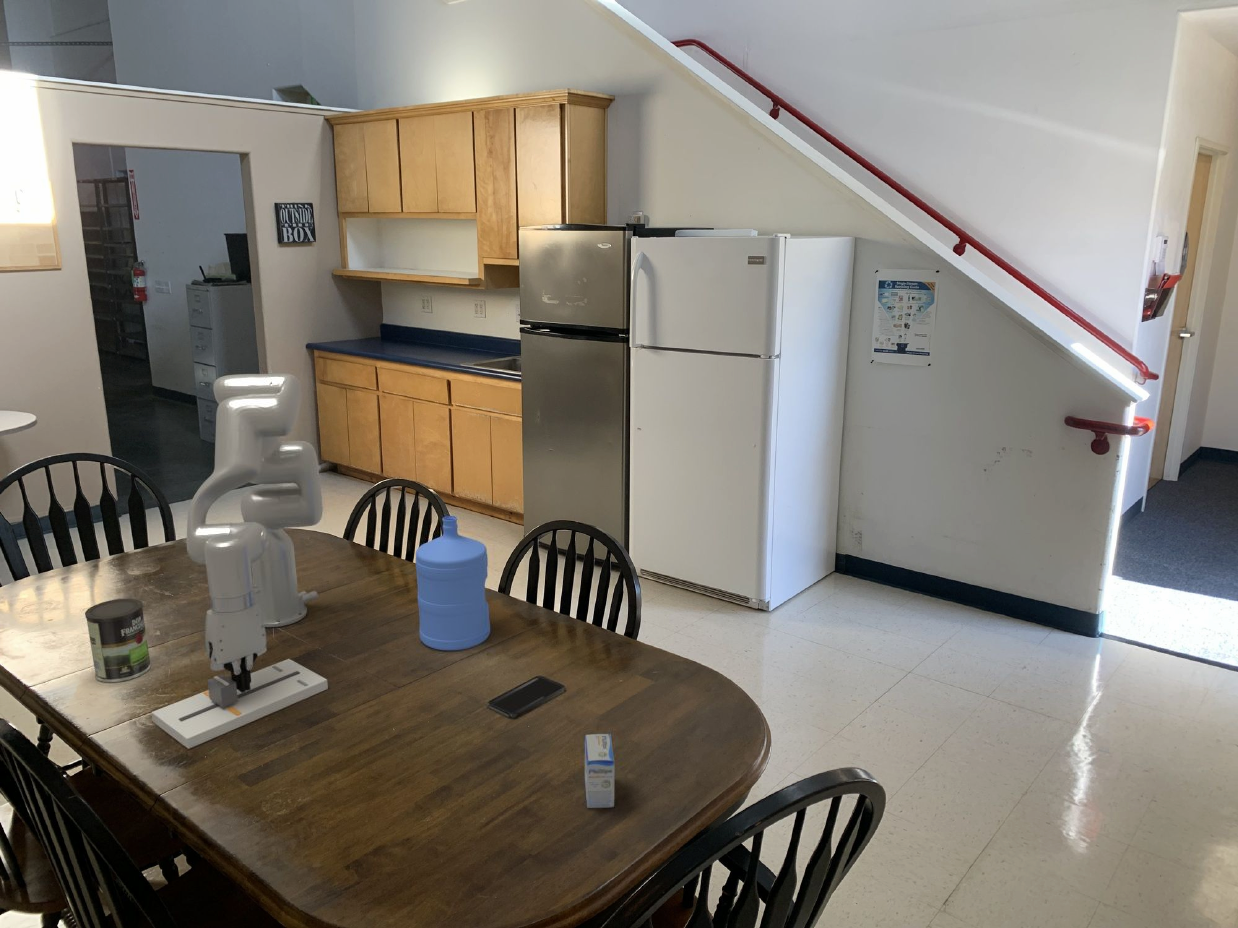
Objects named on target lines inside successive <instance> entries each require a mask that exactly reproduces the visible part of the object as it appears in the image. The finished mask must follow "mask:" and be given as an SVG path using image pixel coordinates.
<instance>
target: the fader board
mask: <svg viewBox="0 0 1238 928" xmlns="http://www.w3.org/2000/svg"><path fill="white" fill-rule="evenodd" d="M250 674H251V683H250V688H251V689H250V690H248V691H247V690H246V691H245V692H243V693H242V692H240V691H239V690H237V696H238V702H236V703H234V704H231V705H229V706H226V707H224V708H222V707H221V706H219V705H218V704H216V703H215V702H213V701H212V700H210V697H209V690H208V689H207V690H205V691H202V692H200V693H197V694H195V695H193V696H190V697H187V698H184V699H182V700H179V701H177V702H174V703H171V704H169V705H167V706H164V707H162V708H159V709H156V710H153V711H151V717H152V718H151V719H152V723H154V724H155V725H156V726H157V727H159V728H161V730H163V731H164V732H166V733H167V734H168V735H170V737H172V738H174V739H175V740H176V741H178V742H179V743H180V744H181V745H182V746H184V747H185V748H187V749H188V750H189V749H191V748H194V747H196V746H199V745H201V744H203V743H205V742H208V741H210V740H213V739H215V738H217V737H220V736H222V735H224V734H226V733H229V732H231V731H233V730H235V729H238V728H240V727H242V726H245V725H247V724H249V723H252V722H254V721H256V720H259V719H261V718H264V717H265V716H268V715H270V714H273V713H275V712H277V711H280V710H282V709H284V708H287V707H289V706H292V705H293V704H295V703H296V704H297V703H298V702H301V701H304V700H305V699H308V698H310V697H312V696H315V695H317V694H319V693H322V692H324V691H326V690H328V689H329V688H328V687H329V684H328V679H327V678H325V677H323V676H321V675H319V674H318V673H316V672H314V671H312V670H311V669H308V668H307V667H305V666H303V665H301V664H300V663H297V662H296V661H295V660H292V659H290V658H287V659H285V660H282V661H280V662H277V663H274V664H272V665H270V666H267V667H264V668H262V669H259V670H257V671H253V672H250Z"/></svg>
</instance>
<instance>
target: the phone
mask: <svg viewBox="0 0 1238 928" xmlns="http://www.w3.org/2000/svg"><path fill="white" fill-rule="evenodd" d="M565 691H566V687H565V685H564V684H562V683H561V682H557V681H555V680H553V679H551V678H548V677H546V676H543V675H536V676H534V677H532V678H531V679H528V680H526V681H525V682H523V683H521V684H519V685H517V686H515V687H513V688H512V689H509V690H508V691H506V692H503V693H502V694H500V695H498V696H496V697H494V698H493V699H492V698H491V699H490V700H489V701H487V703H486V704H487V705H486V707H487V709H488V710H490V711H493V712H494V713H497V714H498V715H500V716H502V717H505V718H507V719H509V720H516V719H518V718H520V717H522V716H523V715H525V714H528V713H529V712H530V711H532V710H534V709H536V708H537V707H539V706H541V705H544V703H547V702H549V701H550V700H552V699H554V698H556V697H557V696H560V695H562V694H563V693H565Z"/></svg>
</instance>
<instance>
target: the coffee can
mask: <svg viewBox="0 0 1238 928" xmlns="http://www.w3.org/2000/svg"><path fill="white" fill-rule="evenodd" d="M143 607H144V606H143V602H142V601H141V600H140V599H135V598H116V599H111V600H106V601H103V602H99V603H97V604H94V605H92V606H90V607H89V608H88V609H86V610H85V612H84V615H85V618H86V624H87V630H88V637H89V642H90V648H91V649H90V651H91V655H92V661H93V667H94V673H95V674H94V677H95V679H96V680H97V681H99V682H102V683H119V682H121V683H122V682H125V681H126V682H127V681H129V680H133V679H135V678H138V677H141V676H142V675H144V674H146V673H147V672H149V670H150V669H151V667H152V663H151V660H150V659H151V658H150V652H149V646H148V639H147V631H146V625H145V619H144V618H145V617H144V610H143Z"/></svg>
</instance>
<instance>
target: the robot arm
mask: <svg viewBox="0 0 1238 928" xmlns="http://www.w3.org/2000/svg"><path fill="white" fill-rule="evenodd" d="M302 391H303V390H302V386H301V383H300V381H299V379H298V378H297V376H295V375H293V374H289V373H246V374H245V373H243V374H241V373H240V374H229V375H224V376H221V377H218V378H217V379H216V380H215V381H214V382H213V395H214V398H215V400H216V403H217V404H218V405H217V409H216V414H215V415H216V416H215V418H216V419H215V421H216V423H215V445H214V449H215V450H214V469H213V472H212V473H211V475H210V476H209V477H207V479H206V480H205V481H203V483H202V484H201V485H200V486H199V488H198V489H197V491H196V492H195V494H194V496H193V497H192V500H191V501H190V504H189V506H188V511H187V518H186V519H187V522H186V523H187V524H186V550H187V555H188V556H189V559H190V560H192V561H193V562H195V563H197V564H204V565H205V568H206V569H205V570H206V576H207V584H208V585H207V586H208V592H209V593H208V594H209V600H210V601H209V602H210V609H208V610H207V611H206V615H205V624H204V625H205V626H204V638H205V639H204V641H205V654H206V658H208V659H210V665H209V668H210V669H211V670H212V671H215V672H217V671H223V670H227V671H228V672H230V675H231V680H233V681H234V682H236V687H237V690H239V691H240V692H242V693H243V692H245V691H246V690H247V691H248V690H250V689H251V688H250V683H251V670H252V669H253V664H254V663H255V661H256V660H257V658H258V657H260V656H261V655H263V654H265V653H266V652H267V632H266V628H277V627H279V628H280V627H284V626H288V625H291V624H294V623H296V622H299V621H301V620H302V619H303V618H304V617H306V615H307V613H308V611H307V610H308V609H307V607H306V606H305V605H306V604H307V602H310V601H314V600H316V599H318V592H317V591H315V590H313V591H311V592H306V591H305V590H303V591H301V592H298V591H299V590H298V578H297V570H296V568H297V567H296V558H295V547H294V546H295V545H294V543H293V541H292V539H291V537H290V536H289V535H288V534H287V532H286V531H284V529H286V528H287V529H288V528H290V529H292V528H306V527H312V526H316V525H318V524H320V521H321V520H322V519H323V518H322V517H323V497H322V490H321V480H320V471H319V462H318V456H317V452H316V449H315V447H314V446H313V445H312V444H311V443H310V442H308V441H304V440H288V441H286V440H285V441H284V440H283V441H282V440H281V437H286V436H289V435H290V434H292V432H293V430H294V428H295V426H296V422H297V418H298V415H299V411H300V408H301V404H302V398H303V395H302V394H303V392H302ZM248 483H250V484H255V485H278V484H279V485H280V484H295V485H290V486H282V485H281V486H264V487H258V488H253V489H250V490H248V491H246V492H245V493H244V494H243V495H242V497H241V499H240V512H241V516H242V520H243V522H242V521H241V522H224V523H223V522H222V523H221V522H220V523H207V516H208V513H209V510H210V509H211V507H212V506H213V504H214V503H215V502H216V501H218V499H220V498H221V497H222V496H224V495H226V494H227V493H230V492H232V491H234V490H235V489H237V488H239V487H242V486H244V485H246V484H248Z"/></svg>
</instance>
